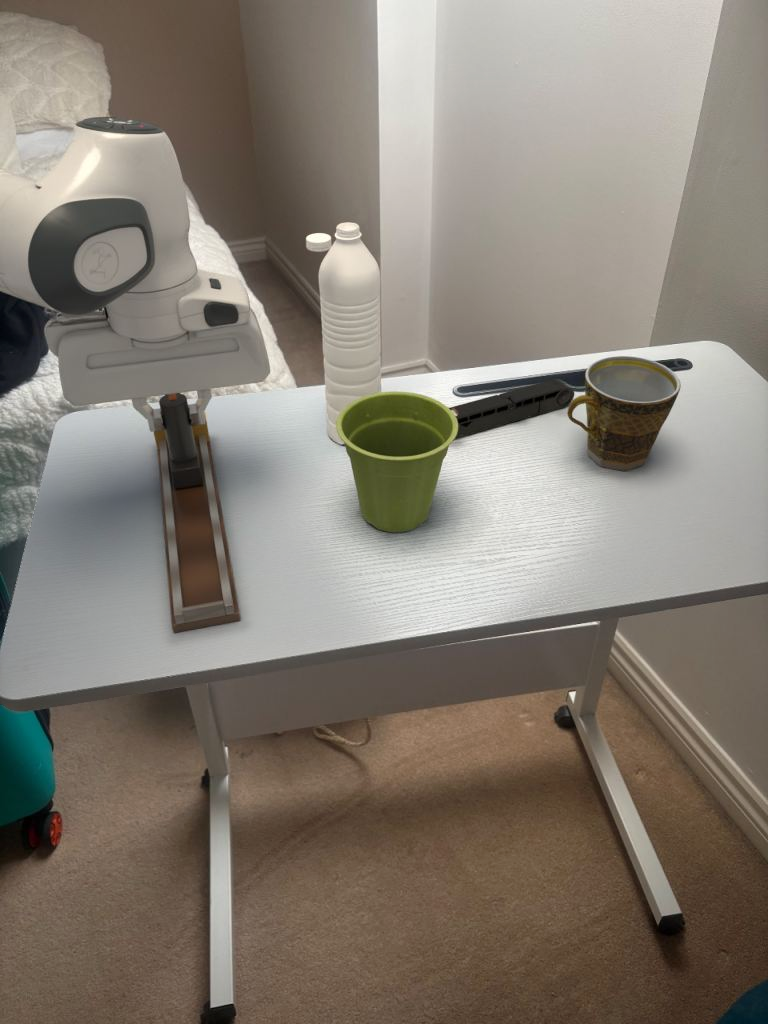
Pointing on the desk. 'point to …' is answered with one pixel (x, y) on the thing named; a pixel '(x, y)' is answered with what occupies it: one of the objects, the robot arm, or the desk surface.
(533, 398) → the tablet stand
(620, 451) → the ceramic cup
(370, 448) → the plant pot
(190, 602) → the rail
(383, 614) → the desk surface
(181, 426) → the nozzle
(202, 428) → the block
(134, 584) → the desk surface
